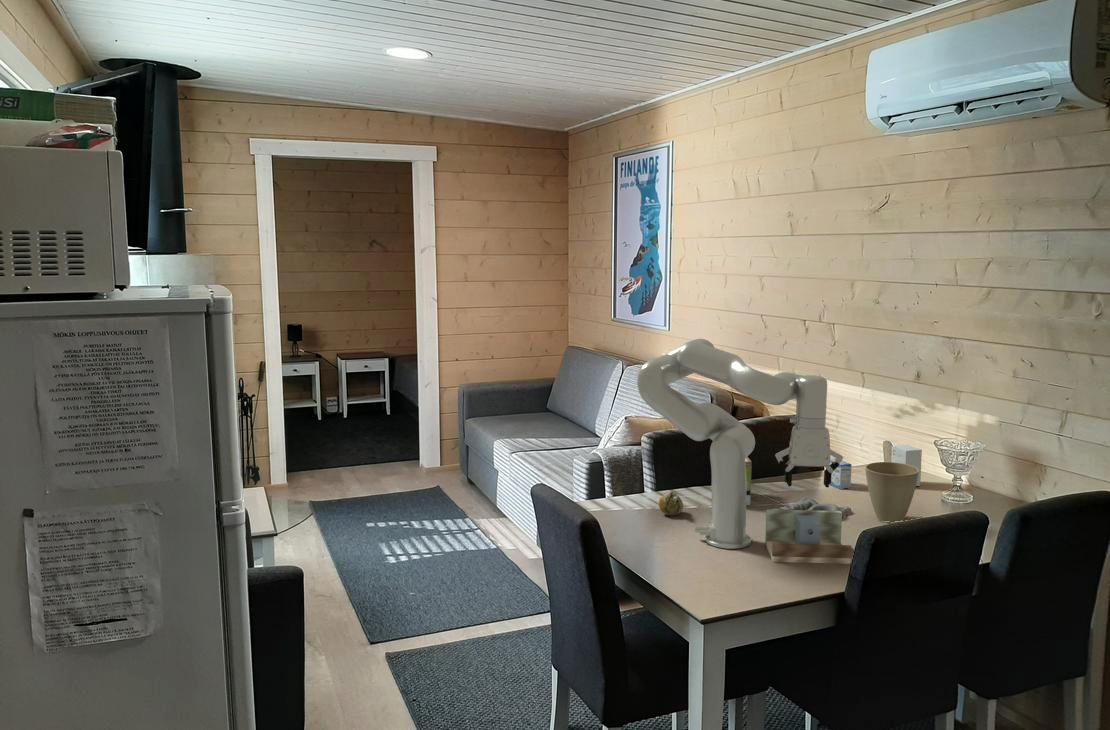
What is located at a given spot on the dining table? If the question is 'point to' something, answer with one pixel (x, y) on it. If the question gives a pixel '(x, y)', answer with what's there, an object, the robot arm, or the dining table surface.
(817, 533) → the cabinet block
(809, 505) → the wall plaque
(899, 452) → the small box
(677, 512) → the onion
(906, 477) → the plant pot
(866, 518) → the dining table surface
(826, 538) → the upright panel stand
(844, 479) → the medicine box
